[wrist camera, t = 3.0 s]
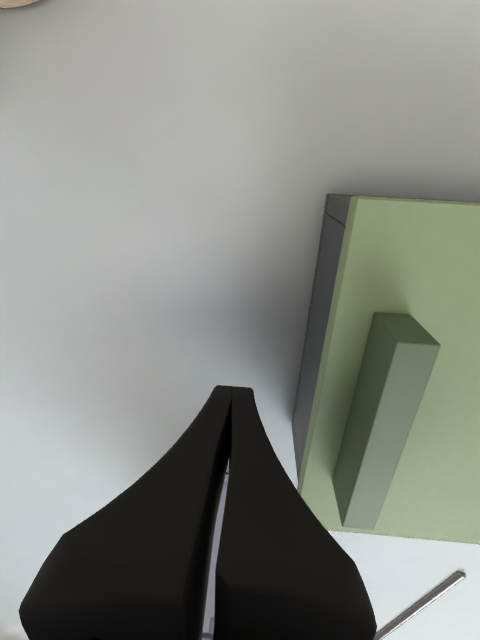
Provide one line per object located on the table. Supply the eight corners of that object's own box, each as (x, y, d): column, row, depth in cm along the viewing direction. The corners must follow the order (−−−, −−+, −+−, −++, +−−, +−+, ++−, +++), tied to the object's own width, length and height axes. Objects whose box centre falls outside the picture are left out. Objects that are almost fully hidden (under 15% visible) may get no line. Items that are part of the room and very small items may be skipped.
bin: (481, 440, 21) (553, 530, 16) (291, 424, 21) (300, 507, 16) (596, 209, 15) (778, 231, 9) (326, 193, 15) (360, 208, 10)
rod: (341, 656, 35) (343, 665, 34) (455, 566, 27) (460, 576, 26) (346, 657, 35) (348, 666, 34) (462, 568, 27) (467, 578, 27)
